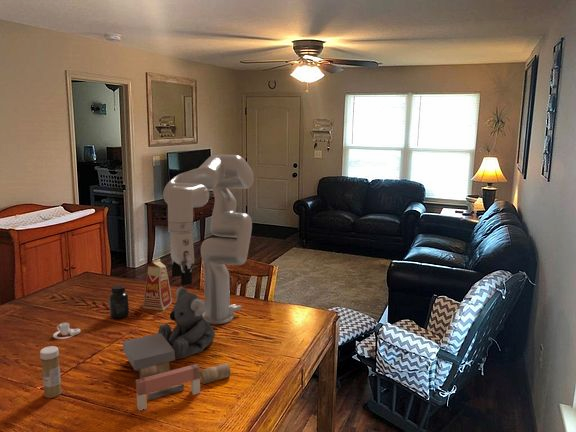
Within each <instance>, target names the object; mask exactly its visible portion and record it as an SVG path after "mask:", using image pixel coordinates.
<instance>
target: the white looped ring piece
mask: <svg viewBox="0 0 576 432" xmlns="http://www.w3.org/2000/svg"><path fill="white" fill-rule="evenodd" d="M56 330H58V331H55V332H54V333H53V334H52V337H53V338H54V339H58V340H63V339H64V340H65V339H70V338H72V337H75V336H77V335H78V334H79V333H81V329H80V328H70V323H69V322H61V323H60V324H58V325H57V326H56ZM58 334H61V336H65V337H60V336H58ZM68 335H69V336H68Z"/></svg>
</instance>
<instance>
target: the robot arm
mask: <svg viewBox="0 0 576 432" xmlns="http://www.w3.org/2000/svg"><path fill="white" fill-rule="evenodd" d="M254 177H255V176H254V172H253V169H252V168H251V167H250V165H249V163H248V162H247V161H246V159H245V158H244V157H242V156H240V155H238V154H221V153H220V154H213V155H210V156H209V157H208V158H207V159H206V160H205V161H204V162H203V163H202V164H201V165H200V166H199V167H198V168H193V169H191V170H188V171H184V172H181V173H179V174H177V175H176V176H173V178H171V179H170V180H169V181H168V182H167V184H166V185H165V187H164V188H163V189H164V190H163V193H162V195H163V197H162V198H163V200H164V202H165V203H166V204H167V228H168V229H167V230H168V231H167V232H168V233H170V258H171V276H172V278H176V277H180V286H181V287H183V286H190V285H192V284H193V283H192V281H193V277H192V276H193V275H192V270H193V269H192V267H193V266H192V265H194V264H195V250H194V238H193V232H194V208H202V207H204V206H206V205H207V203H208V202H209V199H210V191H209V190H211V189H212V191H213V196H214V205H213V210H212V214H211V220H210V224H209V230H210V233H211V234H212V235H213V236H216V237H210V238H207V239H205V240H203V241H202V242H201V245H200V256H201V261H202V264H203V265H202V266H203V289H204V297H203V298H204V304H205V313H203V314H202V316H203V318H204V319H205V320H206V322H208V323H209V324H210V325H222V324H223V325H224V324H227V323H230V322H231V321H233V320H234V317H235V313H234V312H238V311H241V310H242V305H241V304H239V305H236V304H235V303H234V304H230V303H231V301H230V299H231V297H230V296H231V295H230V291H231V290H230V273H229V269H228V268H227V266H229V265H231V266H241V265H244V264H245V263H246V261H247V259H248V255H249V248H250V243H251V237H252V230H253V222H252V220H253V219H252V217H251V216H250V215H249V214H248V213H246V212H237V211H236V210H237V204H238V202H237V199H236V197H235V196H234V194H233V193H232V192H231V191H230V189H235V190H237V189H240V190H244V189H245V190H247V189H249V188H251V187H252V186H253V184H254V181H255V180H254V179H255V178H254ZM221 237H222V238H221ZM235 238H236V239H235Z"/></svg>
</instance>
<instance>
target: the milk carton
mask: <svg viewBox="0 0 576 432" xmlns="http://www.w3.org/2000/svg"><path fill="white" fill-rule="evenodd" d="M146 274H147V275H146V283H145V290H144V295H143V296H144V298H143V305H142V308H143V309H147V310H156V311H165V310H166V309H167V308H168V307H169V306H170V305H171V304H172V303H173V300H172V292H171V286H170V280H169V276H168V275H169V274H168V270H167V266H166V265H165V264H164V263H162V262H161V258H157V259H153V260H152V263H151V264H149V265H148V266H147V273H146Z"/></svg>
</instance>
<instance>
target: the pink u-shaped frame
mask: <svg viewBox="0 0 576 432" xmlns="http://www.w3.org/2000/svg"><path fill="white" fill-rule="evenodd" d="M200 369H201V368H200V366H199V364H198V363H194V364H191V365H188V366H183V367H179V368H175V369H170V371H167V372H164V373H160V374H156V375H152V376H149V377H145V378H138V379H135V388H136V389H135V392H136V406H137V407H138V408H137V407H136V408H137V409H139V410H138V412H141V411H144V410H147V409H148V406H147V402H148V401H147V395H148V394H149V393H152V392H156V391H159V390H163V389H166V388H170V387H174V386H177V385H181V384H185V383H189V382H190V392H191V394H192V395H197V394H201V378H200V371H201V370H200ZM143 409H144V410H143ZM140 410H141V411H140Z"/></svg>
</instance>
